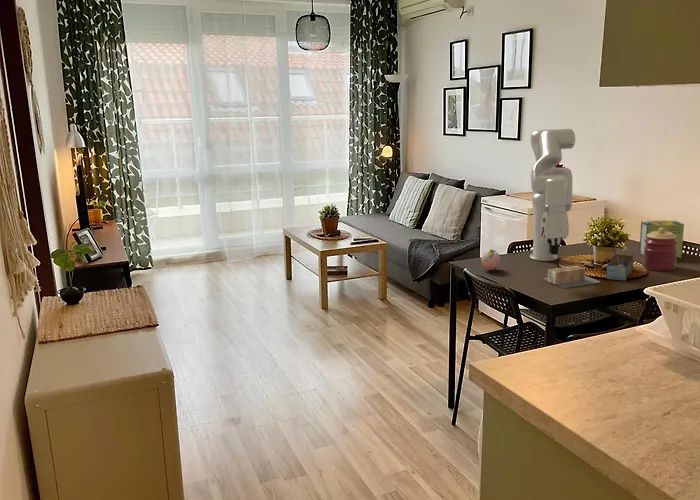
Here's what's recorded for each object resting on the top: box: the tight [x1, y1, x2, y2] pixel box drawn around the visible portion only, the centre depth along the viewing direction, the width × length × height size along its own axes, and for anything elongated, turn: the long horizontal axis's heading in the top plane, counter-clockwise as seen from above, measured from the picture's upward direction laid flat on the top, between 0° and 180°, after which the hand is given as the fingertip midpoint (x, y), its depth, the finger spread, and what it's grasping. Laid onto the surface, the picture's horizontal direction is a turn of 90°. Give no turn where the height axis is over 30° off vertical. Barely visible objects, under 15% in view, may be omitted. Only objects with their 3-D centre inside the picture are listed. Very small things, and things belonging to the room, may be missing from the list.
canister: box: [642, 228, 678, 272], centre depth 252 cm, size 13×13×18 cm
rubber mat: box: [542, 275, 601, 289], centre depth 243 cm, size 14×18×1 cm
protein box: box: [638, 219, 685, 259], centre depth 272 cm, size 10×15×16 cm
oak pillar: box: [547, 265, 586, 285], centre depth 241 cm, size 5×5×14 cm
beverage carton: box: [605, 254, 634, 281], centre depth 248 cm, size 8×19×7 cm, turn 147°
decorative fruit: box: [480, 248, 501, 271], centre depth 263 cm, size 9×8×10 cm
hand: (553, 253), depth 238 cm, fingers closed
